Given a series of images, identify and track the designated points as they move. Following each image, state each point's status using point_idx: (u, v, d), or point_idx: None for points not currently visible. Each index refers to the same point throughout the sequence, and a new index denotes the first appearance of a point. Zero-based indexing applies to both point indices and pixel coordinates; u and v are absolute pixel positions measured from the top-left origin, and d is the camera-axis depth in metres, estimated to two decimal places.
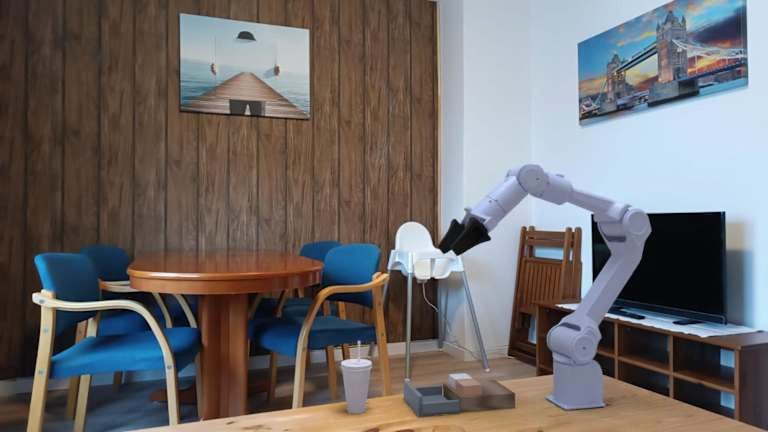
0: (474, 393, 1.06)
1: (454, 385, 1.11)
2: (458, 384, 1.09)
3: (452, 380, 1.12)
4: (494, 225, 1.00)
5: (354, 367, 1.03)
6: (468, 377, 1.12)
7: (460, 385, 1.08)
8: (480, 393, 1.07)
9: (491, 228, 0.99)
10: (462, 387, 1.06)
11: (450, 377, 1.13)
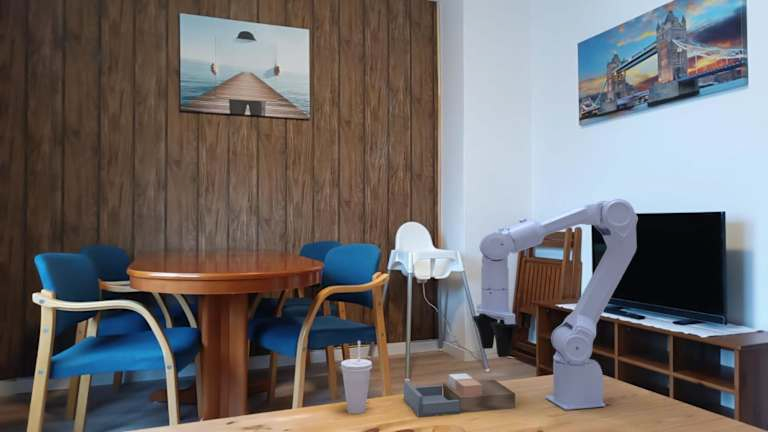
0: (474, 393, 1.06)
1: (454, 385, 1.11)
2: (458, 384, 1.09)
3: (452, 380, 1.12)
4: (513, 317, 1.06)
5: (354, 367, 1.03)
6: (468, 377, 1.12)
7: (460, 385, 1.08)
8: (480, 393, 1.07)
9: (513, 322, 1.06)
10: (462, 387, 1.06)
11: (450, 377, 1.13)
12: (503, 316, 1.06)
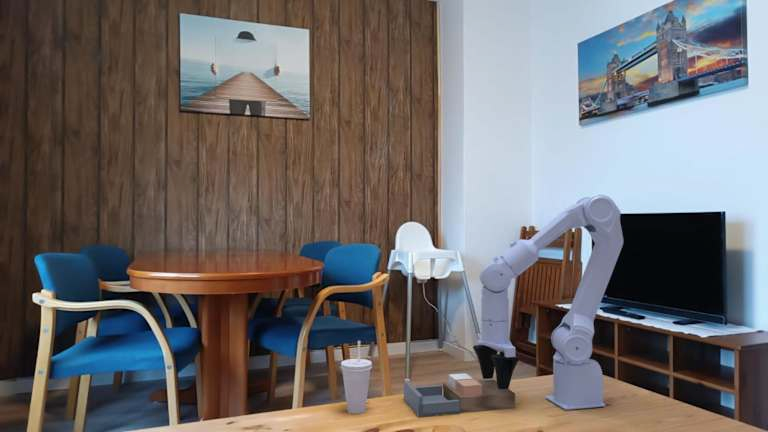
0: (474, 393, 1.06)
1: (454, 385, 1.11)
2: (458, 384, 1.09)
3: (452, 380, 1.12)
4: (513, 350, 1.05)
5: (354, 367, 1.03)
6: (468, 377, 1.12)
7: (460, 385, 1.08)
8: (480, 393, 1.07)
9: (513, 355, 1.05)
10: (462, 387, 1.06)
11: (450, 377, 1.13)
12: (503, 349, 1.06)
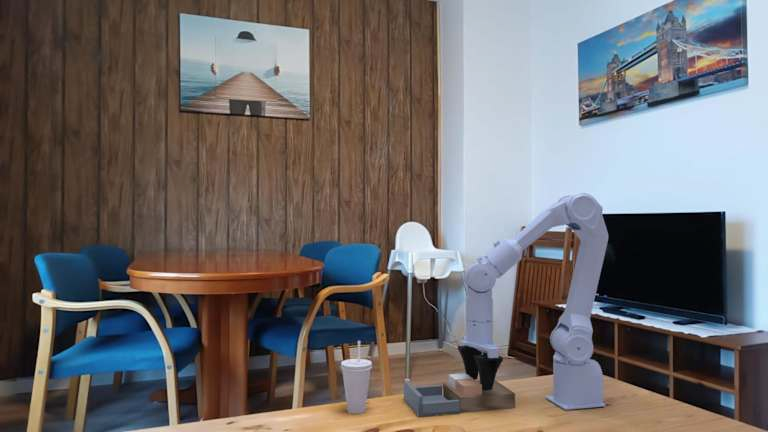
0: (474, 393, 1.06)
1: (454, 385, 1.11)
2: (458, 384, 1.09)
3: (452, 380, 1.12)
4: (496, 351, 1.05)
5: (354, 367, 1.03)
6: (468, 377, 1.12)
7: (460, 385, 1.08)
8: (480, 393, 1.07)
9: (496, 355, 1.05)
10: (462, 387, 1.06)
11: (450, 377, 1.13)
12: (486, 349, 1.05)
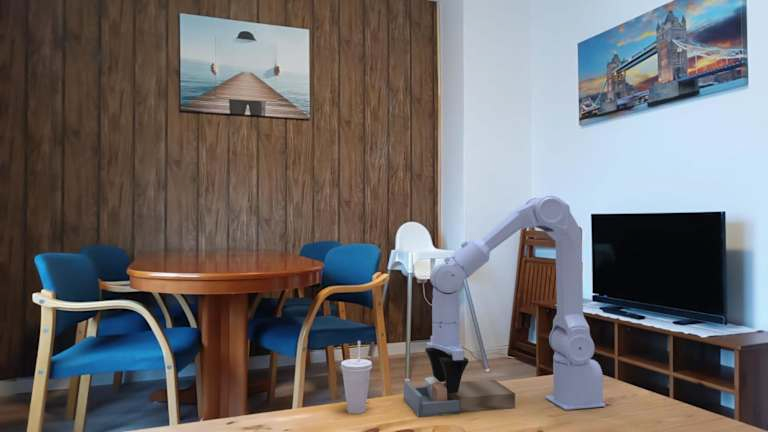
0: (445, 396, 1.05)
1: None
2: None
3: None
4: (461, 353, 1.03)
5: (354, 367, 1.03)
6: (429, 385, 1.10)
7: None
8: (445, 389, 1.05)
9: (461, 358, 1.03)
10: None
11: None
12: (451, 352, 1.03)
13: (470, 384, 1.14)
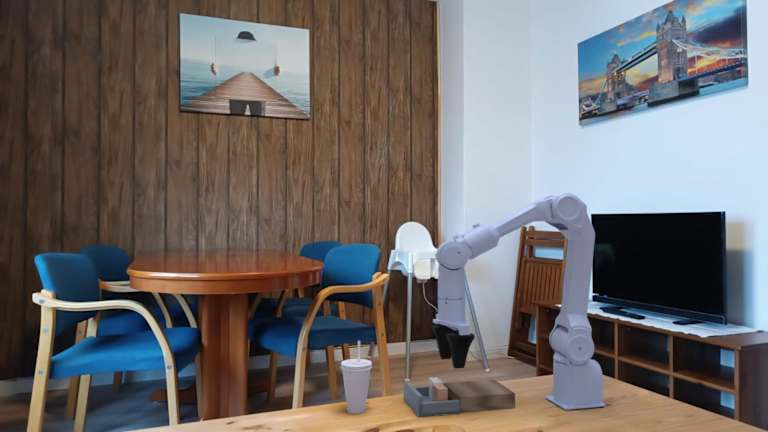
0: (445, 396, 1.05)
1: None
2: None
3: None
4: (468, 328, 1.03)
5: (354, 367, 1.03)
6: None
7: None
8: (446, 390, 1.05)
9: (467, 332, 1.03)
10: None
11: None
12: (458, 327, 1.04)
13: (470, 384, 1.14)
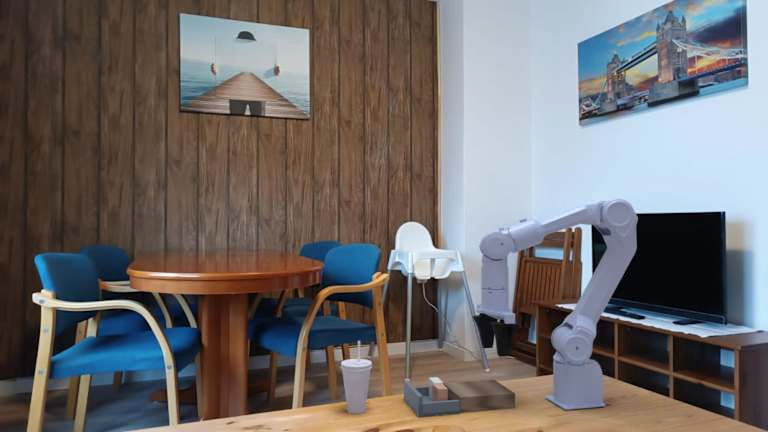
0: (445, 396, 1.05)
1: None
2: None
3: None
4: (513, 317, 1.06)
5: (354, 367, 1.03)
6: None
7: None
8: (446, 390, 1.05)
9: (513, 321, 1.06)
10: None
11: None
12: (503, 316, 1.06)
13: (470, 384, 1.14)
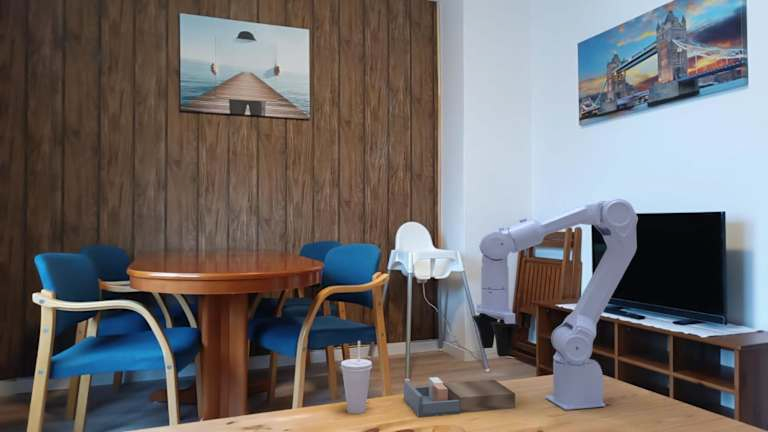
0: (445, 396, 1.05)
1: None
2: None
3: None
4: (513, 317, 1.06)
5: (354, 367, 1.03)
6: None
7: None
8: (446, 390, 1.05)
9: (513, 321, 1.06)
10: None
11: None
12: (503, 316, 1.06)
13: (470, 384, 1.14)
